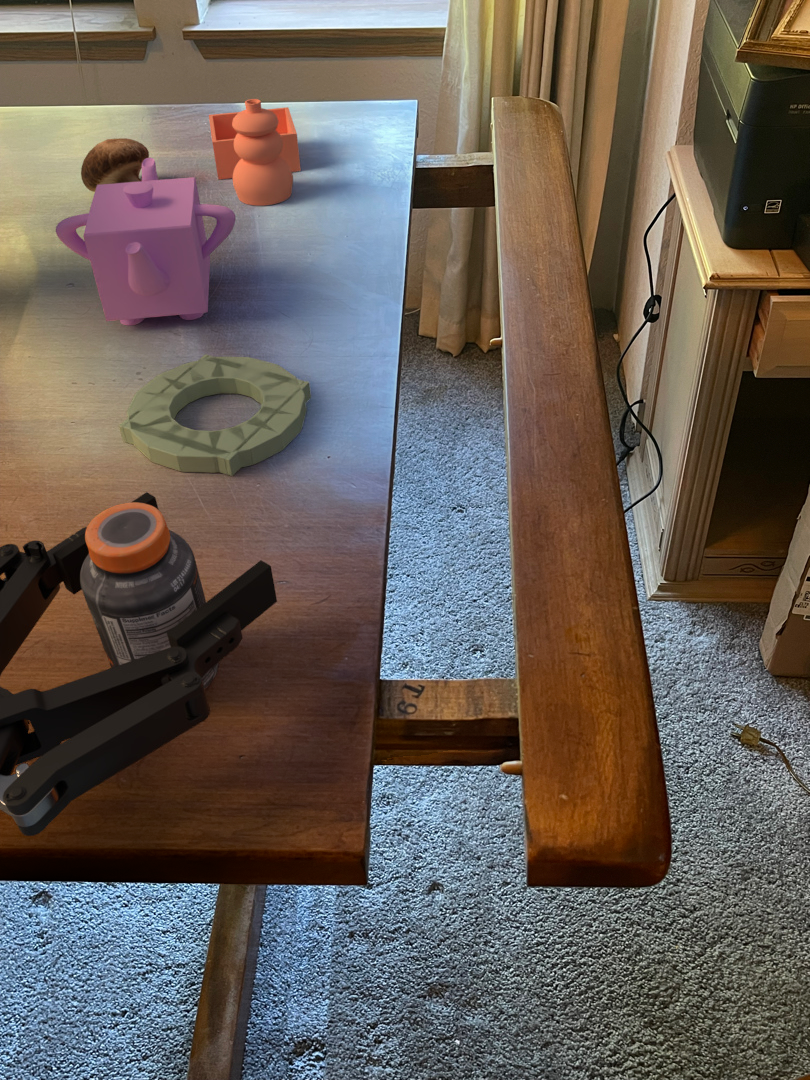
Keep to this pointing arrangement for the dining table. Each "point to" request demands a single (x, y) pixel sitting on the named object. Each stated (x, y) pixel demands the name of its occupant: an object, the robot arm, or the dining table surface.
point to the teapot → (149, 246)
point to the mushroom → (113, 163)
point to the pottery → (256, 152)
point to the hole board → (221, 448)
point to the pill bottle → (138, 582)
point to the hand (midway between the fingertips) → (209, 545)
